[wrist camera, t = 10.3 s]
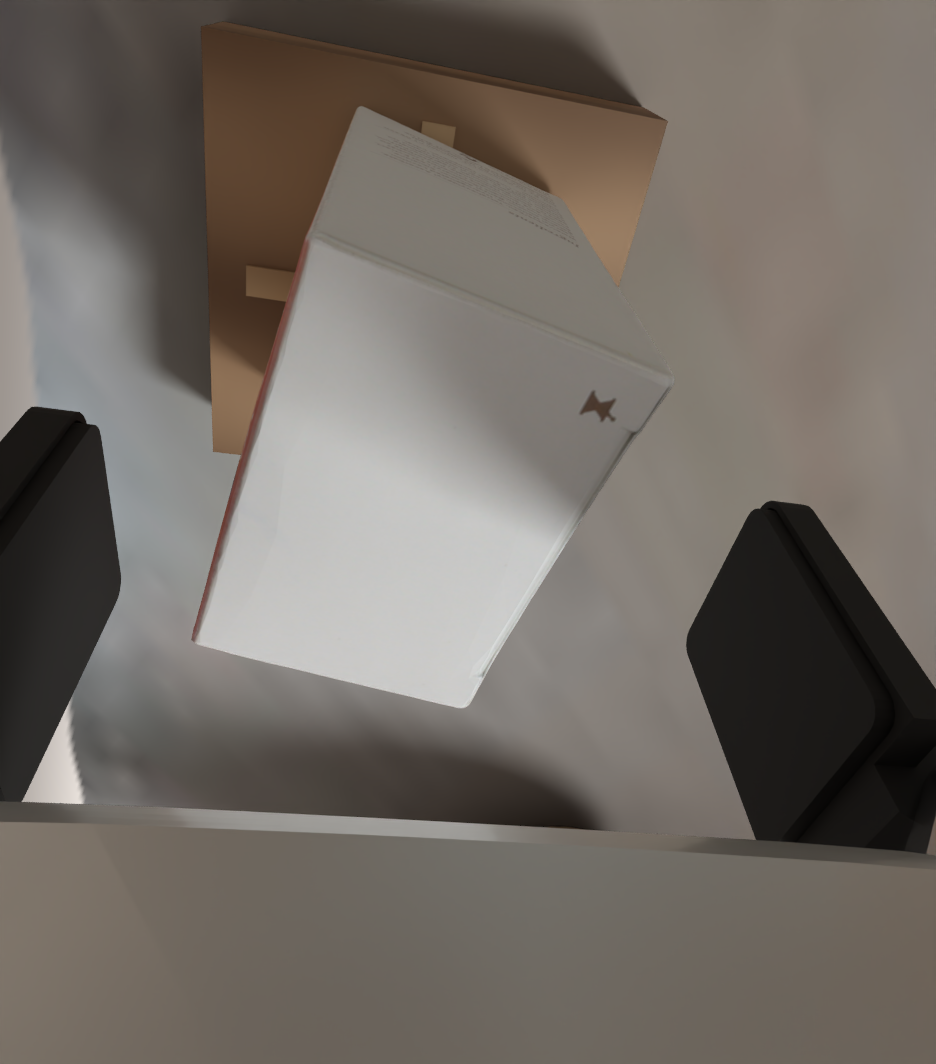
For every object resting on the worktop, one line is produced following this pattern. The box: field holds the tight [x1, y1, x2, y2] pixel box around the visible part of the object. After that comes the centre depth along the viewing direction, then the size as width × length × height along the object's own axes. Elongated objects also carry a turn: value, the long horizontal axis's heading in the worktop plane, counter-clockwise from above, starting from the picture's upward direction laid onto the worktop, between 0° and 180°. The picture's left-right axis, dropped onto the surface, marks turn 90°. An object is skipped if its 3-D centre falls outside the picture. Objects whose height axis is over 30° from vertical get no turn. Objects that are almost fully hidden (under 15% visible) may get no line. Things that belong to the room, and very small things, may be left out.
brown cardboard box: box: [201, 22, 668, 455], centre depth 21 cm, size 11×11×2 cm
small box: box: [191, 106, 674, 708], centre depth 16 cm, size 8×6×10 cm
